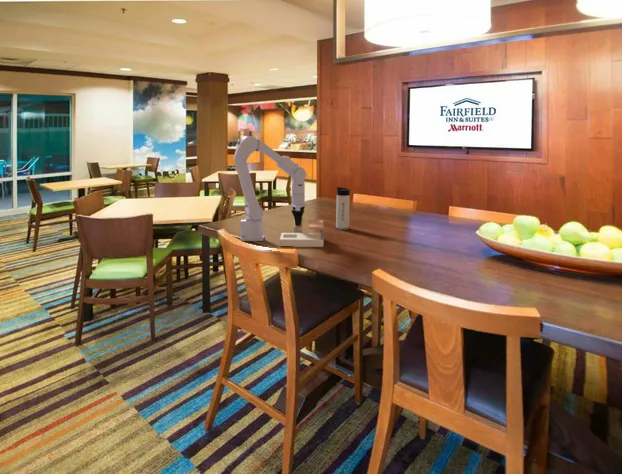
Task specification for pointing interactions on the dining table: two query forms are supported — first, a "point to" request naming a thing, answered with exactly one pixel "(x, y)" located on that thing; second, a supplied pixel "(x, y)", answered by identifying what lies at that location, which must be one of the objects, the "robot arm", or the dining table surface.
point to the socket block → (304, 237)
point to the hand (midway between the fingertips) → (298, 223)
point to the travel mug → (342, 208)
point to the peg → (298, 227)
